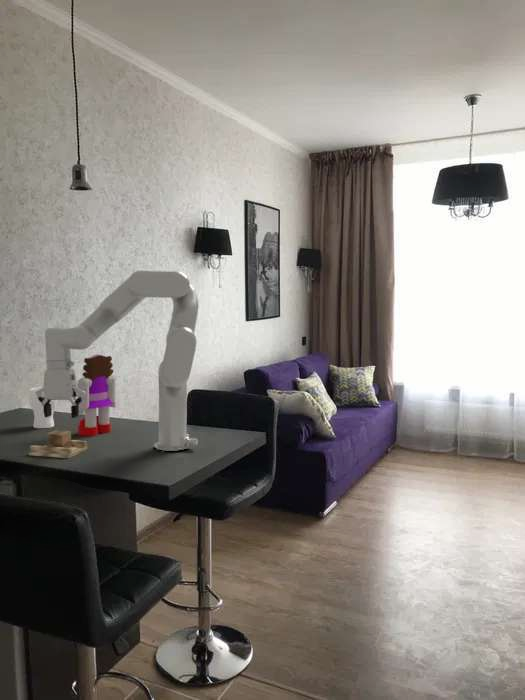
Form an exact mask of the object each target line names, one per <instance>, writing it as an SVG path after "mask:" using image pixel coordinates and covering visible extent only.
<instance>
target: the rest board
mask: <svg viewBox="0 0 525 700" xmlns="http://www.w3.org/2000/svg"><path fill="white" fill-rule="evenodd" d="M87 442H88V441H87V440H76V439H71V448H61V447H48V446H47V444H44V445H30V446H29V452H28V456H34V457H35V456H37V457H48V458H49V457H50V458H63V459H70V458H72V457H74V456H76V455H78V454H81V453H82V452H84V451H86V450H88V443H87Z"/></svg>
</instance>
